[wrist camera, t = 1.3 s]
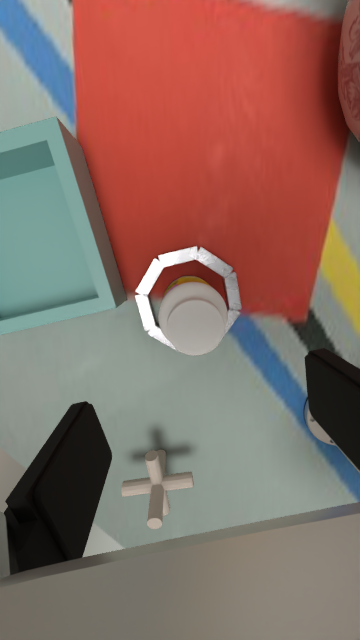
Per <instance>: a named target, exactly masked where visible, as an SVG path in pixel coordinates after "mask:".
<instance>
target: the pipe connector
mask: <svg viewBox="0 0 360 640" xmlns="http://www.w3.org/2000/svg"><path fill="white" fill-rule="evenodd" d="M145 460H146V464H147V468H148V472H149V476H150V477H149V478H141V479H134V480H127V481H123V483H122V496H123V497H124V496H131V495H139V494H146V493H151V494H150V503H149V512H148V520H147V525H148V526H149V527H150V528H152V529H158V528H160V527H161V526H162V518H163V516H165V515H167V514H168V513H169V512H170V504H169V500H168V496H167V491H168V490H175V489H182V488H189V487H194V485H193V476H192V472H184V473H177V474H170V475H165V465H166V452H165V451H164V450H157V451H155V450H151V451H149V452H147V453H146V455H145Z"/></svg>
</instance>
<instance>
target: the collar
mask: <svg viewBox="0 0 360 640" xmlns="http://www.w3.org/2000/svg"><path fill="white" fill-rule="evenodd" d="M158 257H159V260H158V259H156V258H154V260H153V262H152V264H151V265H150V267H149V269H148V270H147V272H146V274H145V276H144V277H143V279H142V281H141V283H140V284H139V286H138V288H137V290H136V291H135V292H137V293H139V294H136V295H135V298H136V301H137V305H138V308H139V312H140V315H141V318H142V322H143V325H144V329H145V331H146V330H149V331H148V334H149V335H150V336H152V337H154V338H156V339H157V340H159V341H161V342H163V343H164V344H166V345H168V346H170V347H171V348H173V349H175V350H177V349H176V348H175V347H174V346H173V345H172V344H171V343H170V342H169V341H168V340H167V339H166V337H165V336H164V335H163V333H162V331H161V329H160V326H159V324H157V323H156V320H155V316H154V312H153V309H152V305H151V301H150V297H149V292H150V290H151V289H152V287H153V285H154V284H155V282H156V280H157V279H158V277H159V275H160V274H161V272H162V270H163V268H164V267H167V266H171V265H175V264H179V263H183V262H187V261H192V260H197V261H199V262H200V263H202V264H203V265H205V266H207V267H208V268H210V269H211V270H213V271H214V272H216V273H217V274H219V275H220V276H222V280H223V285H224V291H225V296H226V302H227V312H228V320H227V325H226V328H225V330H224V335H223V337H224V336H225V334H226V333H227V331H228V330H229V329H230V327H231V326H232V324H233V323H234V322H235V320H236V319H237V317H238V316H239V315H240V312H239V311H238V310H239V309H242V308H241V302H240V295H239V289H238V283H237V277H236V272H231V271H232V270H233V268H232V267H230V266H229V265H227V264H226V263H224V262H223V261H222V260H220V259H219V258H217V257H216V256H214V255H213V254H211V253H210V252H208V251H207V250H205V249H204V248H202V247H200V248H199V250H197V246H195V247H191V248H187V249H183V250H179V251H174V252H170V253H166V254H162V255H158ZM177 351H179V350H177Z"/></svg>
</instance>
